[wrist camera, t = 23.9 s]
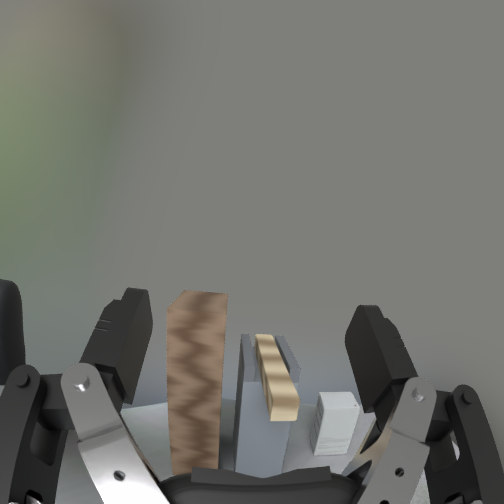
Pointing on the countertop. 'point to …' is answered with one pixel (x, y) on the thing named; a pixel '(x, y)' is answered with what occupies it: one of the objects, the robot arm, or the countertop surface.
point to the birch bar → (275, 381)
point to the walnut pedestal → (195, 378)
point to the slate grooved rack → (259, 415)
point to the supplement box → (333, 423)
